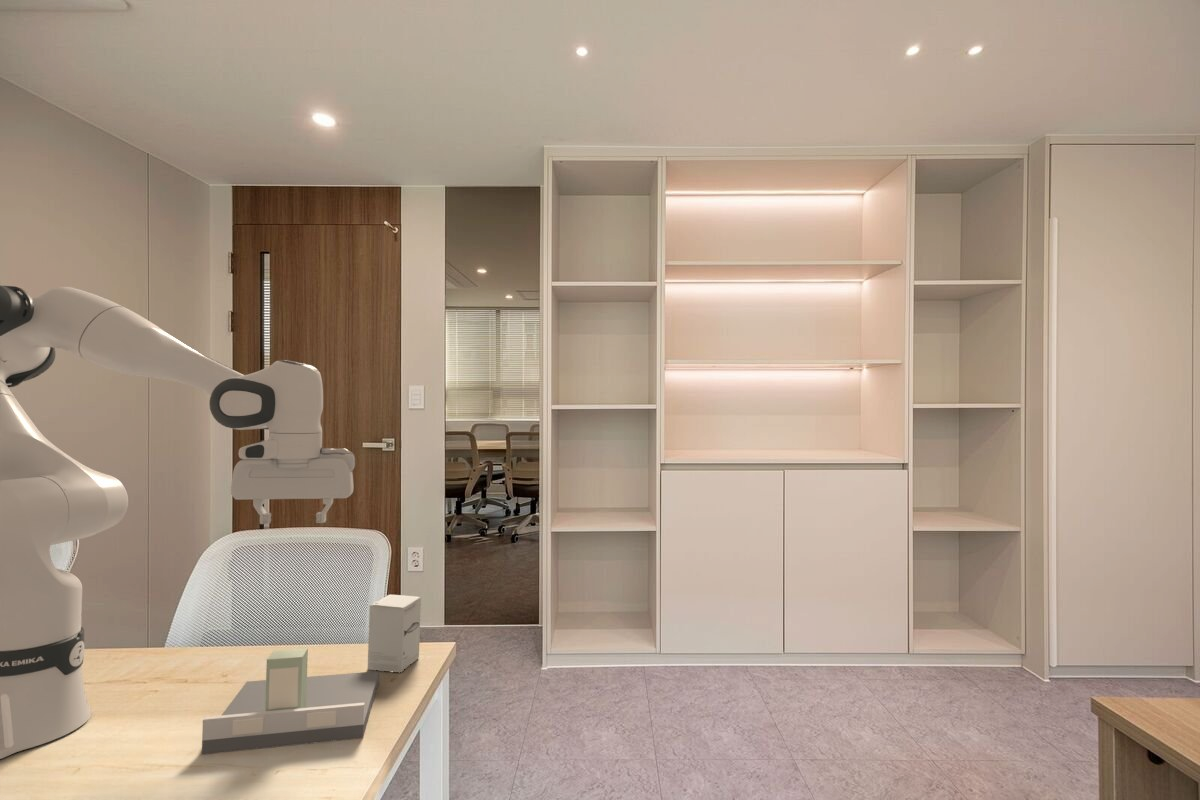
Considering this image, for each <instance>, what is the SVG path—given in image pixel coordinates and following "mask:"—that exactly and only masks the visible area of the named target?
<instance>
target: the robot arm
mask: <svg viewBox="0 0 1200 800" xmlns="http://www.w3.org/2000/svg"><path fill="white" fill-rule="evenodd" d="M56 349H61V350H65V351H68V352H71V353H72V354H73V355H76V356H78V357H80V358H82V359H84V360H86V361H88V362H90V363H91V364H94V365H96V366H97V367H98V366H99V367H101V368H104V369H106V370H109V371H112V372H116V373H119V374H122V375H126V376H131V377H140V378H149V379H158V380H163V381H171V382H176V383H180V384H184V385H186V386H189V387H192V388H194V389H196V390H199V391H201V392H203V393H205V394H208V395H209V396H210V397H209V405H208V406H209V410H210V413H211V415H212V417H213V418H214V420H215V421H216V422H217V423H218V424H220V425H221V426H223V427H225V428H229V429H233V430H240V431H242V430H243V431H244V430H245V431H246V430H268V439H264V440H259V441H257V442H255V443H252V444H247V445H244V446H242V447H240V448H239V449H238V457H239V459H240V460H239V461H238V462H236V464H235V466H234V467H233V471H232V477H231V485H230V495H231V496H232V498H234V500H241V501H243V500H252V501H253V502H252V503H253V504H252V507H253V508H254V509H255V511H256V512H257V514H258V515H259V524H260V525H269V524H271V522H272V518H271V517H272V512H267V511H266V509H265V507H264V506H263V505H264V504H265V503H266V500H298V499H299V500H304V499H305V500H307V499H309V500H311V499H315V500H316V499H318V500H321V499H322V505H325V506H324V508H323V509H322V510H321V511H318V512H316V514H315V518H316V519H315V523H317V524H318V523H319V524H324V523H326V522H327V512H328V511H329V509H330V508H331V507H332V505H333V503H334V499H348V498H349V497H350V496H351V495H352V494H353V493H354V486H355V485H354V475H353V471H354V469H355V467H356V456H355V454H354V453H353V451H351V450H348V449H347V448H341V447H340V448H330V447H329V448H327V447H323V427H322V424H321V418H322V413H323V411H324V409H323V408H324V388H323V387H324V386H323V380H322V375H321V372H320V371H319V369H318V368H317V367H315V366H314V365H310V364H307V363H302V362H298V361H292V360H288V359H278V360H276V361H274V362H273V363H272V364H271V365H269V366H267V367H265V368H263V369H260V370H258V371H256V372H252V373H248V374H244V373H241V372H239V371H238V370H235V369H234V368H231V367H229V366H227V365H225V364H222V363H221V362H219V361H218V360H215V359H213V358H211V357H209V356H206V355H204V354H202V353H200V352H198V351H197V350H195V349H194V348H192V347H190V346H189V345H187V344H185V343H184V342H182V341H181V340H179V339H178V338H176V337H174V336H173V335H171V334H169V333H168V332H167V331H165V330H164V329H162V328H161V327H160V326H158V325H156V324H155V323H154V322H151V321H150V320H148V319H146V318H145V317H143V316H142V315H141V314H138V313H136V312H135V311H133V310H131V309H129V308H127V307H124V306H123V305H121V304H120V303H119V304H118V303H117V302H114V301H112V300H110V299H108V298H104V297H102V296H100V295H97V294H95V293H92V292H88V291H85V290H83V289H80V288H75V287H72V286H57V287H54V288H51V289H48V290H46V291H45V292H43V293H42V294H40V295H39V296H37V297H31V295H30V294H29V293H28V292H27V291H26V290H25V289H23V288H21V287H18V286H13V285H12V286H11V285H0V760H2V759H5V758H6V757H8V756H11V755H12V754H15V753H17V752H21V751H23V750H27V749H31V748H35V747H37V746H41V745H43V744H46V743H49V742H52V741H54V740H56V739H57V740H58V739H59V738H61V737H64V736H66V735H68V734H69V733H71V732H73V731H75V730H78V728H80V727H81V726H84V724H85V723H86V722H88V721H89V719H90V718H91V716H92V714H93V713H92V709H91V707H90V704H89V702H88V698H87V694H86V690H85V689H86V688H85V684H84V678H83V676H84V675H83V668H82V665H83V663H84V657H85V628H84V627H83V626H82V614H83V613H82V612H83V609H82V608H83V584H82V582H81V580H80V579H79V578H78V577H77V576H76V575H75V574H74V573H71V572H70V571H67V570H64V569H60V568H57V567H56V566H55V564H54V563H53V561H52V558H51V551H50V549H51V546H53V545H57V544H58V545H59V544H63V543H67V542H68V543H69V542H73V541H77V540H81V539H86V538H89V537H93V536H94V535H97V534H100V533H101V532H105V531H106V530H108V529H111V528H112V527H114V526H116V525H118V524H119V523H120V522H121V521H122V520H123V519H124V517H125V515H126V514H127V510H128V507H129V496H128V491H127V490H126V488H125V486H124V484H123V483H122V482H121V480H119V479H118V478H116V477H115V476H112V475H110V474H106V473H104V472H101V471H98V470H95V469H92V468H90V467H88V466H86V465H84V464H82V463H81V462H80V461H78V460H76V459H75V458H73V457H72V456H70V455H69V454H68V453H66V452H64V451H63V450H61V449H60V448H59V447H57V446H56V445H55V444H53V443H52V442H51V441H50V440H49V439H47V437H46V436H44V435H43V434H42V432H41V431H40V430H39V429H38V427H37V426H36V425H35V423H34V422H33V421H32V419H31V418H30V417H29V415H28V414H27V413H26V411H25V410H24V408H23V407H22V406H21V403H20V402H19V401H18V400H17V398H16V397H15V395H14V394H13V392H12V391H11V390H10V388H14V387H17V386H19V385H20V384H21V383H23V382H26V381H30V380H32V379H34V378H36V377H38V376H41V375H42V374H43V373H45V372H46V371H48V369H50V368H51V366H52V365H53V363H54V362H55V360H56ZM322 447H323V448H322Z"/></svg>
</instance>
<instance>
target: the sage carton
mask: <svg viewBox="0 0 1200 800" xmlns="http://www.w3.org/2000/svg"><path fill="white" fill-rule="evenodd" d="M308 650H309V648H308V647H306V648H305V647H304V648H301V647H300V648H291V649H290V648H288V649H276V650H275V649H274V650H273V651H272V652H271V653H270V655H268V657H267V658H266V673H265V675H266V677H265V680H266V703H265V711H276V710H287V709H298V708H306V696H307V677H308V659H309V658H308V655H309V654H308Z"/></svg>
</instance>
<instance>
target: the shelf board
mask: <svg viewBox="0 0 1200 800" xmlns="http://www.w3.org/2000/svg"><path fill="white" fill-rule="evenodd" d="M379 675H380V671H376V670H373V671H364V672H363V671H362V672H351V673H339V674H336V673H335V674H326V675H313V676H307V696H306V708H298V709H287V710H276V711H265V703H266V679H263V680H262V679H261V680H249V681H248V680H247V681H246V682H245V683H244V684H243V686H242V687H241V689H240V690H239V691H238V692H237V694H236V695H235V696H234V698H233V699H232V701H231V702H230V703H229V704H228V706H227V707H226V708H225V710H224V711H223V713H221V715H213V716H212V715H211V716H205V717H203V719H202V733H201V734H202V735H201V736H202V738H201V739H202V740H201V755H209V754H216V753H217V754H219V753H229V752H235V751H236V752H237V751H238V752H239V751H247V750H257V749H259V750H260V749H265V748H275V747H276V748H277V747H286V746H295V745H297V746H298V745H305V744H306V743H307V744H314V742H317V743H324V742H334V741H335V740H336V741H343V740H354V739H362V738H364V736H365V733H366V729H367V725H368V721H369V717H370V714H371V711H372V708H373V703H374V701H375V697H376V693H377V690H376V689H378V685H379V681H380V679H379V678H380V677H379ZM333 740H334V741H333ZM307 744H306V745H307Z"/></svg>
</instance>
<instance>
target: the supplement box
mask: <svg viewBox="0 0 1200 800" xmlns="http://www.w3.org/2000/svg"><path fill="white" fill-rule="evenodd" d="M421 598H422V597H421V596H416V595H403V594H387V595H386V596H384V597H382V598H380V599H378V600H377V601H375V602H373V603H371V604H370V605H369V613H368V615H369V616H368V642H367V643H368V645H367V649H368V650H367V668H366V669H367V670H369V671H376V670H378V671H379V672H384V671H393V672H399V673H398V674H401V673H402V672H403V671H404V669H405V670H406V669H407V668H408V667H410V666H411V665H412V664H413V663H415V662H416V661H417V660H419V659H420V638H421V637H420V636H421V635H420V632H421V606H422V605H421V604H422V603H421V601H422V599H421ZM410 664H411V665H410ZM393 672H392V673H393ZM400 672H401V673H400Z"/></svg>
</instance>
